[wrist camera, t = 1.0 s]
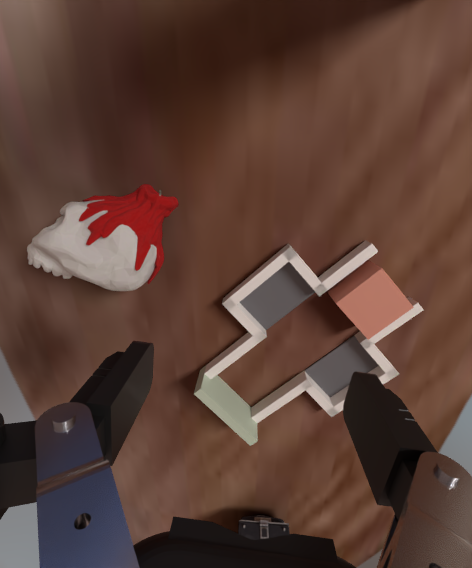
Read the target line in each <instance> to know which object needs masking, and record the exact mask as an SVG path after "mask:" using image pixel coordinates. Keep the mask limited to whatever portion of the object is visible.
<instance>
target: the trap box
mask: <svg viewBox="0 0 472 568" xmlns="http://www.w3.org/2000/svg"><path fill="white" fill-rule="evenodd" d="M377 252H378V250H377V249H376V248H375V247H374V245H373V244H372V243H370V242H368V241H364V242H363V243H361V244H360V245H359V246H357V247H356V248H355V249H354V250H352V251H351V252H350V253H349V254H347V255H346V256H345V257H343V258H342V259H341V260H340V261H338V262H337V263H336V264H335V265H333V266H332V267H331V268H329V269H328V270H327V271H326V272H324V273H323V274H322V275H320V276H319V277H318V278H317V276H316V275H315V274H314V273H313V272H312V270H311V269H310V268H309V267H308V266H307V265H306V263H305V262H304V261H303V260H302V259H301V258H300V256H299V255H298V254H297V253H296V252H295V250H294V249H293V248H292V247H291V246H290V245H289V243H288V244H287V245H286V246H285V247H283V248H282V249H281V250H280V251H279V252H277V253H276V254H275V255H274V256H273V257H271V258H270V259H269V260H268V261H267V262H265V263H264V264H263V265H262V266H261V267H260V268H258V269H257V270H256V271H255V272H254V273H252V274H251V275H250V276H249V277H248V278H246V279H245V280H244V281H243V282H242V283H241V284H239V285H238V286H237V287H236V288H235V289H233V290H232V291H231V292H230V293H229V294H227V295H226V296H225V297H224V298H223V301H222V305H223V306H224V307H225V308H226V309H227V310H228V311H229V312H230V313H231V314H232V315H233V316H234V317H235V318H236V319H237V320H238V321H239V322H240V323H241V324H242V325H243V326H244V327H245V328H246V329H247V330H248V331H249V332H248V333H246V334H245V335H244V336H243V337H241V338H240V339H239V340H237V341H236V342H235V343H234V344H232V345H231V346H230V347H229V348H227V349H226V350H225V351H223V352H222V353H221V354H220V355H218V356H217V357H216V358H215V359H213V360H212V361H211V362H209V363H208V364H207V365H206V366H204V367H203V368H202V369H200V372H199V376H198V380H197V383H196V387H195V391H194V395H195V396H197V397H198V398H199V399H200V400H201V401H202V402H203V403H204V404H205V405H206V406H207V407H209V408H210V409H211V410H212V411H213V412H214V413H215V414H216V415H217V416H218V417H219V418H221V419H222V420H223V421H224V422H225V423H226V424H227V425H228V426H229V427H230V428H231V429H233V430H234V431H235V432H236V433H237V434H238V435H239V436H240V437H241V438H242V439H243V440H245V441H246V442H247V443H248V444H249V445H250V446H251V445H253V444H254V443H256V442H257V441H258V438H257V423H258V422H260V421H261V420H263V419H264V418H266V417H267V416H269V415H270V414H271V413H273V412H274V411H276V410H277V409H279V408H280V407H282V406H283V405H285V404H286V403H288V402H289V401H291V400H292V399H294V398H295V397H296V396H298V395H299V394H301V393H302V392H304V391H305V390H306V391H307V392H308V393H309V395H310V396H311V397H312V398H313V399H314V400H315V401H316V402H317V403H318V404H319V405H320V406H321V407H322V408H323V409H324V410H325V411H326V412H327V413H328V414H329V415H330V416H331V417H333V416H334V415H336V414H337V413H339V412H341V411H342V410H343V405H344V401H345V397H346V394H347V391H348V387H349V384H350V381H351V377H352V375H353V373H354V372H363V373H371V374H376V375H377V377H378V378H379V380H380V381H381V383H382V384H385V383H386V382H388V381H389V380H391V379H392V378H394V377H396V376H397V375H399V373H398V372H397V371H396V369H395V368H394V367H393V366H392V364H391V363H390V362H389V361H388V360H387V359H386V357H385V356H384V355H383V354H382V353H381V351H380V350H379V349H378V348H377V347H376V346H375V344H374V343H376V342H377V341H379V340H380V339H382V338H383V337H385V336H386V335H388V334H389V333H391V332H392V331H394V330H395V329H397V328H398V327H399V326H401V325H402V324H404V323H405V322H407V321H408V320H410V319H411V318H413V317H414V316H416V315H417V314H419V313H420V312H422V311H423V309H422V307H421V306H420V305H419V303H418V302H416V301H415V300H413V299H412V298H410V297H408V298H407V299H408V301H409V302H410V303H411V304H412V306H413V307H414V308H412V309H411V310H409V311H408V312H407V313H405V314H404V315H402V316H401V317H400V318H398V319H397V320H395V321H394V322H392V323H391V324H390V325H388V326H387V327H385V328H384V329H383V330H381V331H380V332H378V333H377V334H376V335H374V336H373V337H371V338H370V339H369V340H368V339H367V338H366V337H365V336H364V335H363V334H362V332H361V331H359V332H358V333H357V334H355V335H354V336H352V337H351V338H349V339H348V340H347V341H345V342H344V343H342V344H341V345H339V346H338V347H337V348H335V349H334V350H332V351H331V352H330V353H328V354H327V355H325V356H324V357H322V358H321V359H320V360H318V361H317V362H315V363H314V364H312V365H311V366H310V367H308V368H307V369H305V370H304V371H302V372H301V373H300V374H298V375H297V376H295V377H294V378H292V379H291V380H290V381H288V382H287V383H285V384H284V385H282V386H281V387H280V388H278V389H277V390H275V391H274V392H272V393H271V394H270V395H268V396H267V397H265V398H264V399H262V400H261V401H260V402H258V403H257V404H255V405H254V406H252V407H250V406H249V405H248V404H247V403H246V402H245V401H244V400H243V399H242V398H241V397H240V396H239V395H238V394H237V393H235V392H234V391H233V390H232V389H231V388H230V387H229V386H228V385H227V384H226V383H225V382H224V381H223V380H222V379H221V378H220V377H219V376H218V375H217V374H219V373H220V372H221V371H223V370H224V369H225V368H227V367H228V366H229V365H231V364H232V363H233V362H234V361H236V360H237V359H238V358H240V357H241V356H242V355H244V354H245V353H246V352H248V351H249V350H250V349H251V348H253V347H254V346H255V345H257V344H258V343H259V342H261V341H262V340H263V339H265V338H266V337H267V335H266V330H267V329H268V328H269V327H271V326H272V325H273V324H275V323H276V322H277V321H278V320H280V319H281V318H282V317H284V316H285V315H286V314H288V313H289V312H290V311H291V310H293V309H294V308H295V307H297V306H298V305H299V304H300V303H302V302H303V301H304V300H306V299H307V298H308V297H310V296H311V295H312V294H313V293H315V292H316V293H317V294H318V295H319V297H320V296H321V295H322V294H324V293H325V292H326V291H327V290H329V289H330V288H331V287H333V286H334V285H335V284H337V283H338V282H339V281H341V280H342V279H343V278H344V277H346V276H347V275H348V274H350V273H351V272H352V271H354V270H355V269H356V268H358V267H359V266H360V265H362V264H363V263H364V262H365V261H367V260H368V259H369V258H371V257H372V256H373V255H375V254H376V253H377Z"/></svg>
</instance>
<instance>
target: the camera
mask: <svg viewBox="0 0 472 568" xmlns="http://www.w3.org/2000/svg"><path fill="white" fill-rule="evenodd" d="M288 526H289V524H288V523H284V521H283V520H281V519H278V518H274V517H268V516H264V515H257V516H245V517H242V519H241V520H239V526H238V534H240V535H242V536H244V537H246V538H249V539H251V540H259V539H265V538H271V537H277V536H283V535H289V527H288Z"/></svg>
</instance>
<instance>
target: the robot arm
mask: <svg viewBox="0 0 472 568" xmlns="http://www.w3.org/2000/svg"><path fill="white" fill-rule="evenodd" d="M153 355H154V346H153V343H147V342H140V341H133V342H132V343H131V344H130V346H129V347H128V348H127V350H126V351H125V352H116V353H114V354H112V355H111V356H109V357H107V358H106V359H105V360H104V361H103V363H102V364H101V365H100V366H99V368H98V369H97V370H96V371H95V372H94V373H93V375H92V376H91V377H90V378H89V379H88V380H87V382H86V383H85V384H84V385H83V386H82V387H81V389H80V390H79V391H78V392H77V393H76V395H75V396H74V397H73V398H72V399H71V401H70V402H69V403H63V404H60V405H57V406H54V407H52V408H50V409H48V410H47V411H46V412H44V413H43V414H42V415H41V416H40V417H39V418H38V420H36V421H29V422H20V423H12V424H4V419H3V416H2V414H1V413H0V519H1V518H2V516H3V515H4V513H5V512H6V511H7V509H8V508H9V507H13V506H19V505H23V504H29V503H34V502H37V517H38V538H39V559H40V568H356V567H354V566H353V565H352V564H350V563H348V562H347V561H345V560H343V559H342V558H340V557H337V555H336V551H335V546H334V542H333V539H327V538H320V537H313V536H306V535H299V534H289V535H283V536H277V537H271V538H265V539H259V540H251V539H249V538H246V537H244V536H242V535H240V534H238V533H235V532H233V531H231V530H229V529H226V528H224V527H222V526H220V525H218V524H215V523H213V522H208V521H201V520H194V519H187V518H180V517H173V521H172V525H171V529H170V531H169V532H163V533H160V534H156V535H153V536H151V537H148V538H146V539H144V540H142V541H140V542H138V543H137V544H135V545H133V543H132V540H131V536H130V533H129V529H128V526H127V522H126V519H125V515H124V512H123V509H122V505H121V502H120V498H119V495H118V491H117V488H116V484H115V481H114V477H113V474H112V470H111V467H110V466H112V465H113V463H114V461H115V459H116V457H117V455H118V453H119V451H120V449H121V447H122V445H123V443H124V441H125V439H126V437H127V435H128V433H129V431H130V429H131V427H132V425H133V423H134V421H135V419H136V417H137V415H138V413H139V411H140V409H141V407H142V405H143V403H144V401H145V399H146V397H147V395H148V393H149V391H150V388H151V384H152V378H153ZM343 415H344V420H345V423H346V425H347V428H348V430H349V433H350V435H351V438H352V441H353V443H354V446H355V448H356V451H357V454H358V456H359V459H360V461H361V464H362V466H363V469H364V472H365V474H366V477H367V479H368V482H369V484H370V487H371V490H372V492H373V495H374V497H375V500H376V503H377V505H384V506H391V507H392V508H393V510H394V512H395V515H394V517H393V519H392V522H391V525H390V528H389V531H388V534H387V537H386V541H385V544H384V547H383V550H382V553H381V556H380V559H379V563H378V566H377V568H472V476H471V475H470V474H469V473H468V472H467V471H466V470H465V469H464V468H463V467H462V466H461V465H460V464H458V463H457V462H455V461H454V460H452V459H451V458H449V457H447V456H445V455H442V454H439V453H438V452H437V451H436V450H435V448H434V447H433V445H432V444H431V442H430V441H429V439H428V438H427V436H426V435H425V434H424V432H423V431H422V429H421V428H420V426H419V425H418V423H417V422H415V419H414V418H413V416H412V415H411V413H410V412H408V409H407V407H406V406H405V404H404V403H403V402H402V400H401V399H400V398H399V397H398V396H397V395H395V394H394V393H393V392H392V391H391V390H389V389H385V387H384V386H383V384H382V383H381V381H380V380H379V378H378V377H377V375H376V374H371V373H363V372H354V373H353V375H352V377H351V381H350V384H349V387H348V391H347V394H346V397H345V401H344V405H343Z"/></svg>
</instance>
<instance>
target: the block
mask: <svg viewBox="0 0 472 568" xmlns="http://www.w3.org/2000/svg"><path fill="white" fill-rule="evenodd" d="M327 293H328V294H329V295H330V297H331V298H332V299H333V300H334V302H335V303H336V304H337V305H338V307H339V308H340V309H341V310H342V311H343V312H344V313H345V314H346V316H347V317H348V318H349V319H350V320H351V321H352V322H353V323H354V325H355V326H356V327H357V328H358V329H359V330H360V331H361V332H362V334H363V335H364V336H365V337H366V338H367V339H368V340H369V339H370V338H371V337H373V336H374V335H376V334H377V333H378V332H380V331H381V330H383V329H384V328H385V327H387V326H388V325H390V324H391V323H392V322H394V321H395V320H397V319H398V318H400V317H401V316H402V315H404V314H405V313H407V312H408V311H409V310H411V309H412V308H414V307H413V306H412V304H411V303H410V302H409V301H408V299H407V298H406V297H405V296H404V295H403V293H402V292H401V291H400V290H399V288H398V287H397V286H396V285H395V284H394V282H393V281H392V280H391V279H390V277H389V276H388V275H387V274H386V273H385V271H384V270H383V269H382V268H381V267H379V266H377V265H376V264H374V263H372V262H371V261H369V260H367V261H366V262H365V263H364V264H362V265H361V266H360V267H358V268H357V269H356V270H355V271H353V272H352V273H351V274H350V275H348V276H347V277H346V278H344V279H343V280H342V281H341V282H339V283H338V284H337V285H336V286H334V287H333V288H332V289H330V290H329V291H328V292H327Z"/></svg>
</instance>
